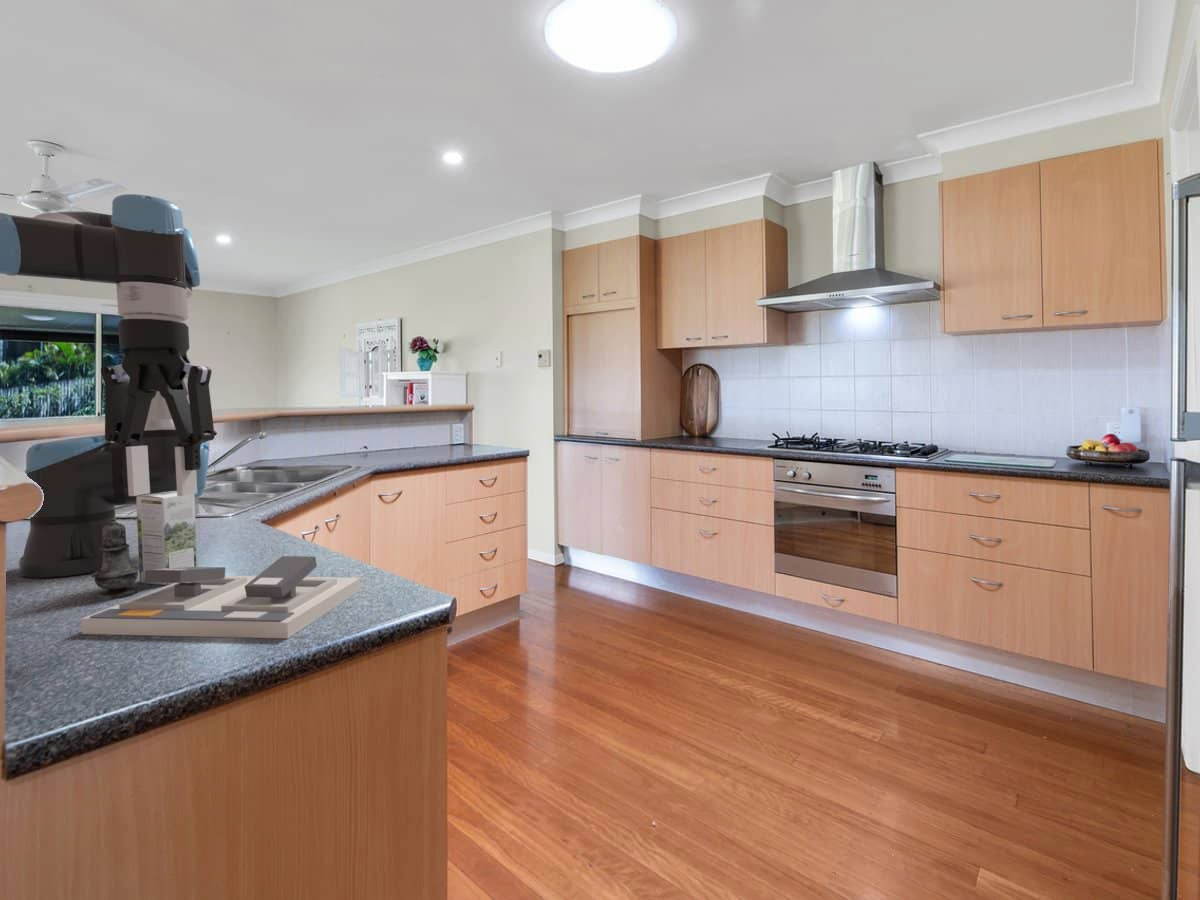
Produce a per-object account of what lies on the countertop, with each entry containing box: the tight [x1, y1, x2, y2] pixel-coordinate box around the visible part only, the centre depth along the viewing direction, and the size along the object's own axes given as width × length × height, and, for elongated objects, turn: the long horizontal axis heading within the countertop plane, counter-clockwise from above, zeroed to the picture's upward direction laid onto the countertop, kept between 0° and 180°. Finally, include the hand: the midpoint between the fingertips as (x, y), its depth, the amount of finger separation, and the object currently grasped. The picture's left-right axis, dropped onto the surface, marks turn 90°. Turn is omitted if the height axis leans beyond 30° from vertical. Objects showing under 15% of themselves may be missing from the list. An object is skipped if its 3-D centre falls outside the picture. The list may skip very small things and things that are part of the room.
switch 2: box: [245, 555, 317, 598], centre depth 86 cm, size 9×5×2 cm, turn 176°
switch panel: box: [81, 575, 362, 639], centre depth 87 cm, size 20×27×4 cm
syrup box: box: [136, 491, 198, 586], centre depth 102 cm, size 6×6×14 cm
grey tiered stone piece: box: [91, 517, 140, 601], centre depth 94 cm, size 6×6×12 cm
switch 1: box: [144, 566, 226, 583], centre depth 87 cm, size 9×5×2 cm, turn 176°
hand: (163, 494), depth 83 cm, fingers open, 6 cm apart
